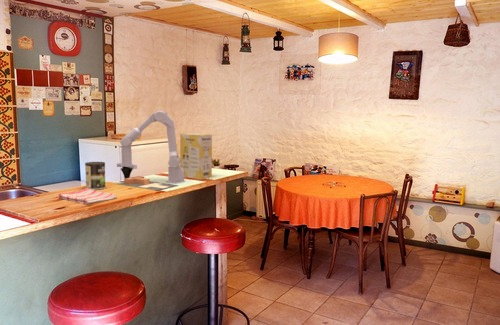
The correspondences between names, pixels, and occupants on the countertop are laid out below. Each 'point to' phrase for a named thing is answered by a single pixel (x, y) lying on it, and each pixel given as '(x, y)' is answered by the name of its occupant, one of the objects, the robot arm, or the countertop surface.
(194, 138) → the pasta box
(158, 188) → the slate mat
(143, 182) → the t block
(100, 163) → the coffee can
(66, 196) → the dish towel
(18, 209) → the countertop surface
